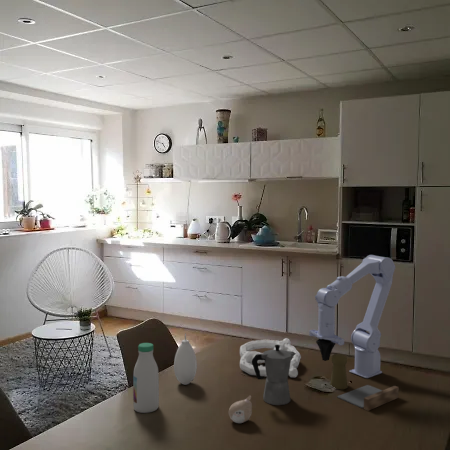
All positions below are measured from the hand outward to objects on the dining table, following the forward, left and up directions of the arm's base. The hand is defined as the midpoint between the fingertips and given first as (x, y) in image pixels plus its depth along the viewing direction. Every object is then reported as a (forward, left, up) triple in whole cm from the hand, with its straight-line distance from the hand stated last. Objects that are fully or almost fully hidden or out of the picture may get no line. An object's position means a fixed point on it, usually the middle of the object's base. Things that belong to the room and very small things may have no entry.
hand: (325, 359), depth 171 cm
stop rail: (0, +23, -7) cm, 24 cm away
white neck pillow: (+6, -23, -8) cm, 25 cm away
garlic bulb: (+44, +6, -8) cm, 45 cm away
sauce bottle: (+42, -27, -8) cm, 50 cm away
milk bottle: (+62, -18, -8) cm, 65 cm away
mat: (0, +17, -7) cm, 19 cm away
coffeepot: (+26, +1, -8) cm, 27 cm away
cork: (0, +6, -8) cm, 10 cm away
